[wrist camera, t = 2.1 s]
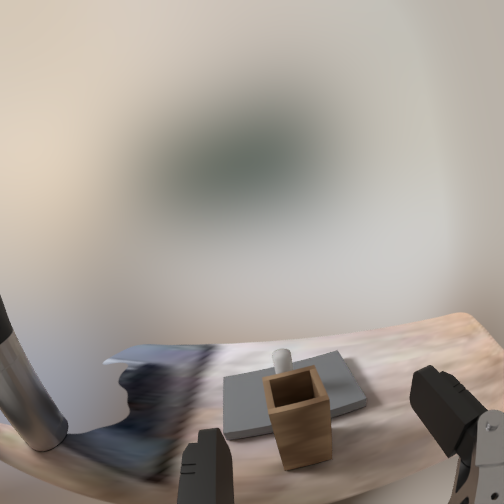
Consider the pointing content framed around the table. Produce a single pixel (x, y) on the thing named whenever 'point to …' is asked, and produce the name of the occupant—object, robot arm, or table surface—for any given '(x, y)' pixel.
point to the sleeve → (299, 416)
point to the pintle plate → (254, 401)
